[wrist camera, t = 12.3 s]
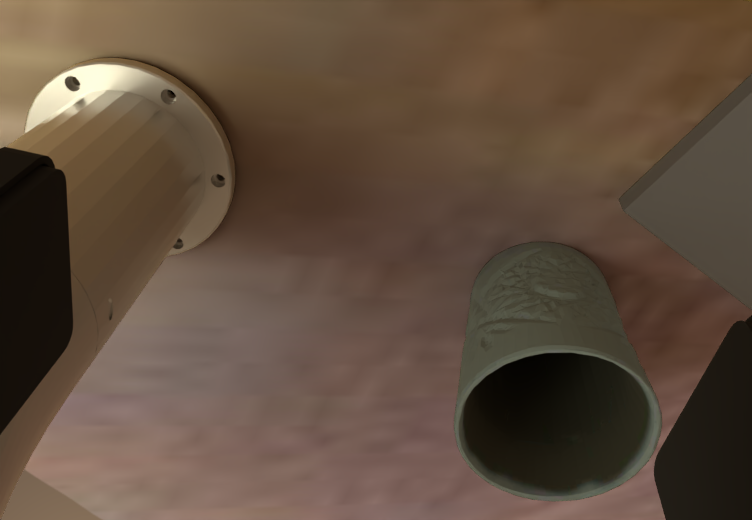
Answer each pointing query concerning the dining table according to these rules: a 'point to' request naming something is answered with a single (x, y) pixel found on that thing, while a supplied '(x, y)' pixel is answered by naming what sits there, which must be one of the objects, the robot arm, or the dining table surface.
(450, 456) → the dining table surface
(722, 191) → the post base
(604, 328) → the grey-green cup
